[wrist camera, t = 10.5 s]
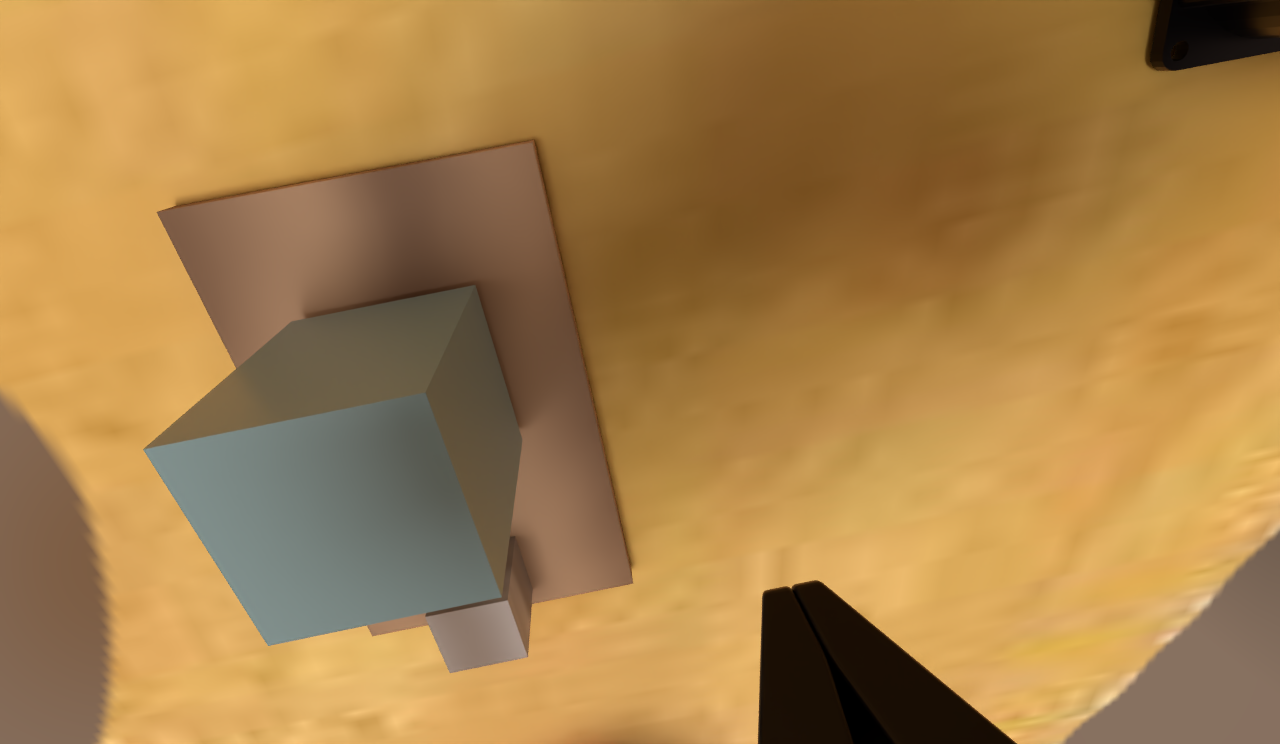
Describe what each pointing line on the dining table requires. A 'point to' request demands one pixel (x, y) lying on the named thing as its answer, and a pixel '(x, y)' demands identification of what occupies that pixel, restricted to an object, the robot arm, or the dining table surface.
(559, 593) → the stand
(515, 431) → the grey-blue rectangular block
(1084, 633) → the dining table surface
